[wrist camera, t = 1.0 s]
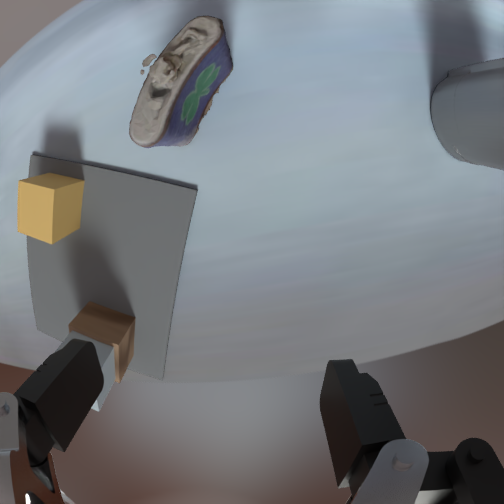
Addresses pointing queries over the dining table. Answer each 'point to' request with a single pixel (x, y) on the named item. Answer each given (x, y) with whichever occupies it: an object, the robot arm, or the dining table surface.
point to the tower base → (108, 332)
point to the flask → (181, 85)
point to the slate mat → (114, 256)
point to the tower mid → (106, 364)
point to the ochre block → (49, 206)
